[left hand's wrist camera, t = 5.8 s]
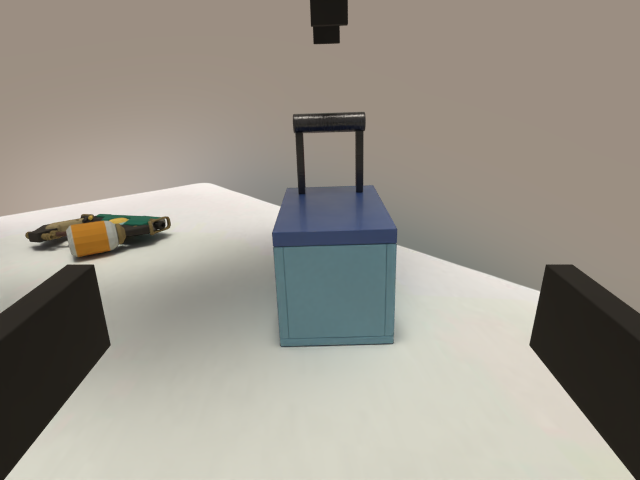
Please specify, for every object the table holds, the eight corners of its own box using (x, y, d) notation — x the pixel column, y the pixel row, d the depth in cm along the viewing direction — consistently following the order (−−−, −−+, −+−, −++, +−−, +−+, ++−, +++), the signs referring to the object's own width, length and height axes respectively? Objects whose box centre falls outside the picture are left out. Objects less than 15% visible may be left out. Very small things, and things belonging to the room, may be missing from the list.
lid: (287, 198, 46) (282, 112, 43) (373, 195, 46) (374, 109, 43) (273, 246, 32) (264, 124, 29) (396, 243, 32) (400, 120, 29)
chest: (291, 275, 48) (286, 200, 45) (373, 273, 48) (374, 198, 45) (280, 346, 35) (273, 247, 32) (393, 343, 35) (396, 243, 32)
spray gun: (23, 248, 61) (123, 225, 72) (71, 267, 51) (180, 237, 62) (15, 219, 60) (119, 200, 71) (63, 233, 49) (175, 208, 61)
